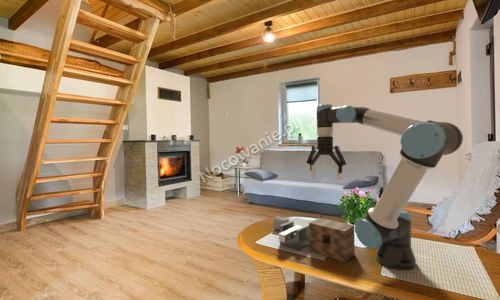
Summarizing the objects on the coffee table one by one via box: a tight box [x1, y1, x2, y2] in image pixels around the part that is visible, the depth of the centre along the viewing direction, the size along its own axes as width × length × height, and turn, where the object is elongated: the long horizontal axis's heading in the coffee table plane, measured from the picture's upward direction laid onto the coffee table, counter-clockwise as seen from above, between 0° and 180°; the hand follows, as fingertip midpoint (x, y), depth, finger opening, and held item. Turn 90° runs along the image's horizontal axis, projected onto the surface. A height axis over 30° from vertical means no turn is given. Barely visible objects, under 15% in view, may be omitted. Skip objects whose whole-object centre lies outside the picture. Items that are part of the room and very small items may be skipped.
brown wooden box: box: [308, 217, 355, 263], centre depth 124 cm, size 18×10×14 cm, turn 46°
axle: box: [278, 224, 303, 242], centre depth 133 cm, size 4×16×4 cm, turn 136°
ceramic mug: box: [272, 215, 290, 231], centre depth 157 cm, size 11×8×8 cm
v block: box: [279, 220, 310, 251], centre depth 135 cm, size 12×10×10 cm
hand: (325, 178), depth 129 cm, fingers open, 13 cm apart
